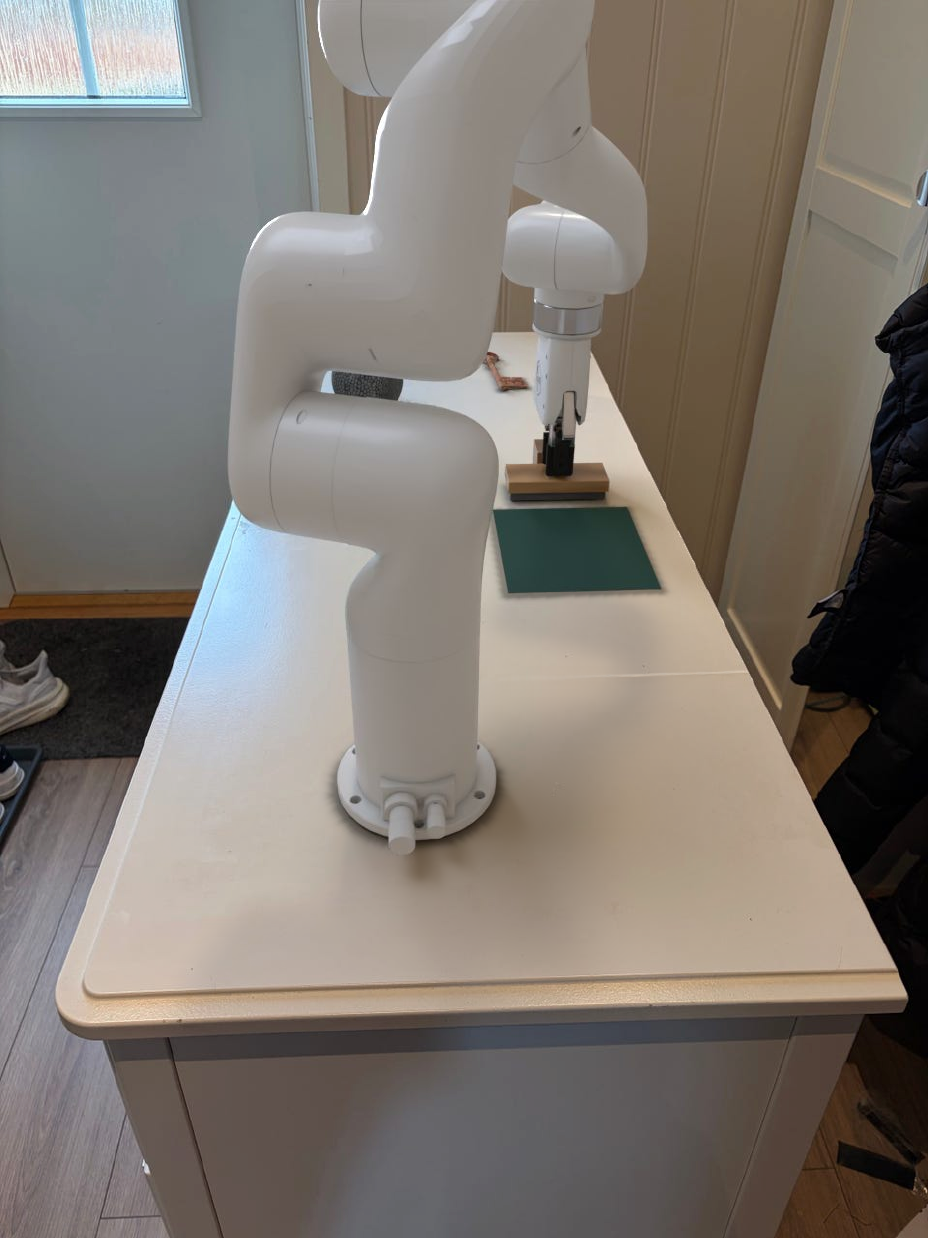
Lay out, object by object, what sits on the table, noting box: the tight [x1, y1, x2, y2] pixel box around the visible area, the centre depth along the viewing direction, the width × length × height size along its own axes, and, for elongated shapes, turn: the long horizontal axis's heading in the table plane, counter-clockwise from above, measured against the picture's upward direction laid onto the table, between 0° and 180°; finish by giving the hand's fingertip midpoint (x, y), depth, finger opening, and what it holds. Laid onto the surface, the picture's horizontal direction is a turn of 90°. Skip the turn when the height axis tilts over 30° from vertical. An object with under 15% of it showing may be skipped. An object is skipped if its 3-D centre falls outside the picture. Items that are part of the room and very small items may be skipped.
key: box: [483, 351, 528, 391], centre depth 153 cm, size 6×1×15 cm
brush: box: [504, 424, 610, 501], centre depth 117 cm, size 5×12×8 cm, turn 93°
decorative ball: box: [330, 371, 404, 401], centre depth 137 cm, size 10×10×10 cm
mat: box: [492, 506, 662, 594], centre depth 109 cm, size 18×16×1 cm
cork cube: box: [532, 438, 543, 464], centre depth 123 cm, size 4×4×4 cm
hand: (556, 468), depth 118 cm, fingers closed on brush, 2 cm apart
